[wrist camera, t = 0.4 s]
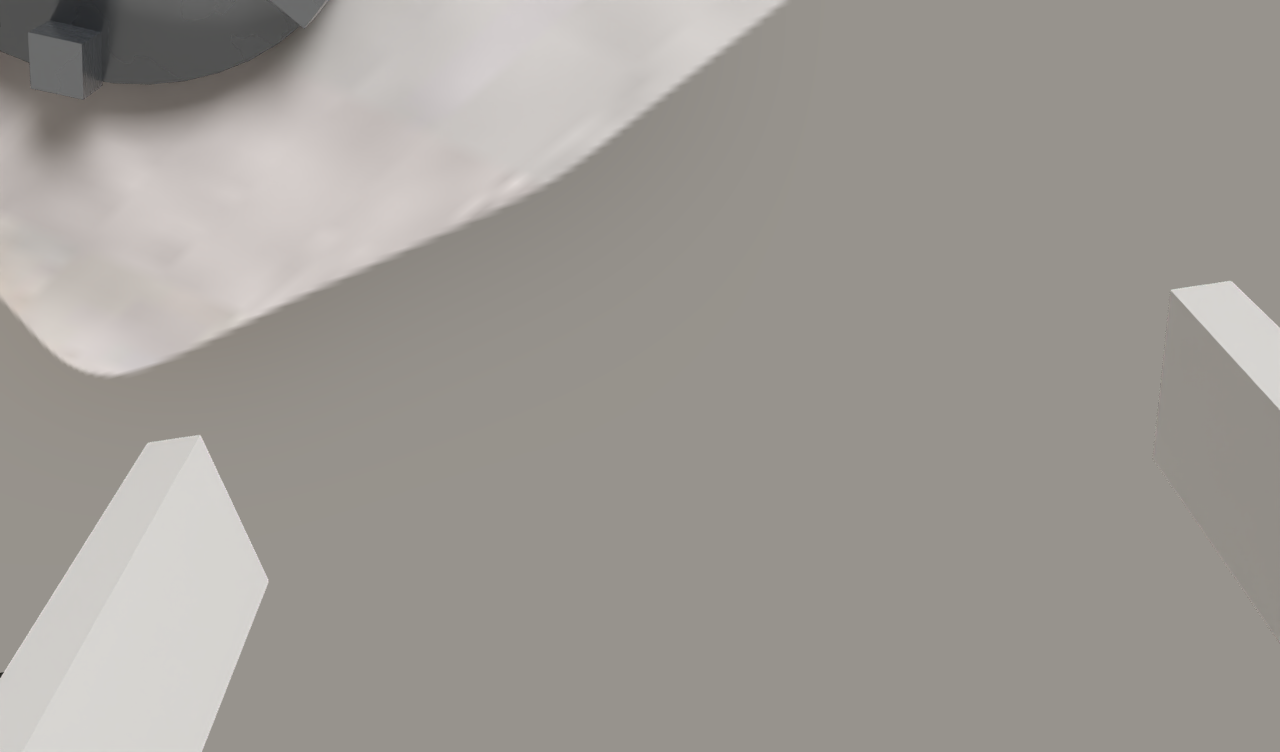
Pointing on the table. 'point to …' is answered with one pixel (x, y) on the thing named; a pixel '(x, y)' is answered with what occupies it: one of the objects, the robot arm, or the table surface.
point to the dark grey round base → (141, 38)
